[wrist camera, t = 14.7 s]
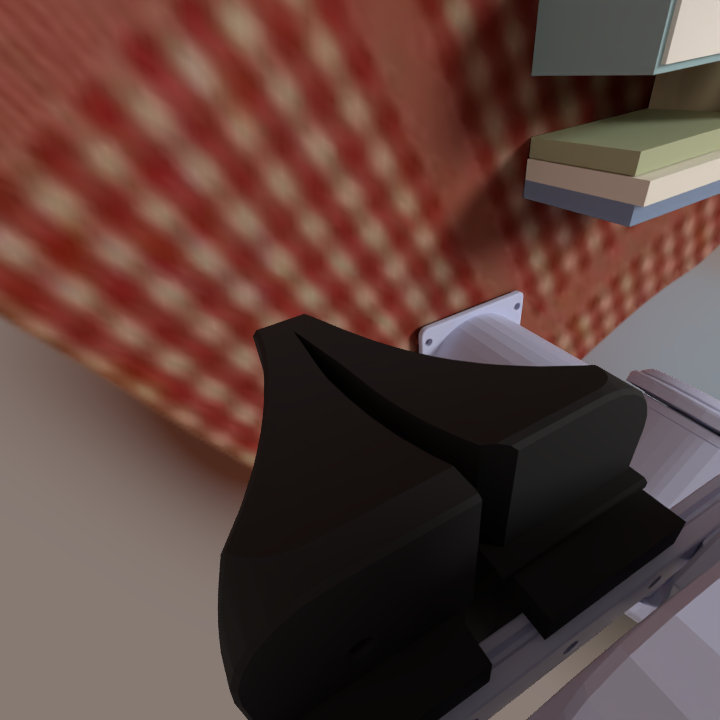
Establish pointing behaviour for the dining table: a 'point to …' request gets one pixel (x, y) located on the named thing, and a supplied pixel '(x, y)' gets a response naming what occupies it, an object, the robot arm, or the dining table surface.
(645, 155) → the book row
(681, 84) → the shelf wall
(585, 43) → the boxed book
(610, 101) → the dining table surface
